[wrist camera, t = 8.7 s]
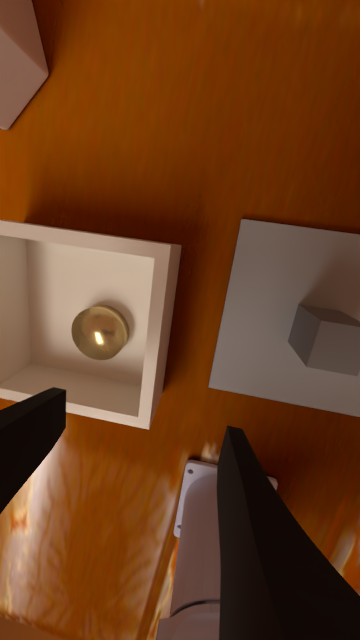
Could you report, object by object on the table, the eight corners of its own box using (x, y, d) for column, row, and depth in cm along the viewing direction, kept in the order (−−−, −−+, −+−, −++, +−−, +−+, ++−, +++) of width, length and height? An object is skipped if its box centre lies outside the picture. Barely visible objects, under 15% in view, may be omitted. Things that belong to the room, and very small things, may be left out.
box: (162, 392, 21) (148, 429, 17) (29, 366, 22) (-15, 394, 18) (182, 245, 18) (170, 245, 13) (23, 222, 19) (-34, 215, 15)
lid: (367, 411, 20) (414, 463, 15) (208, 380, 21) (206, 420, 16) (437, 246, 16) (529, 247, 11) (240, 220, 17) (249, 210, 13)
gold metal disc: (123, 360, 20) (117, 367, 19) (76, 344, 20) (67, 350, 19) (134, 313, 19) (129, 318, 18) (84, 297, 19) (75, 300, 18)
